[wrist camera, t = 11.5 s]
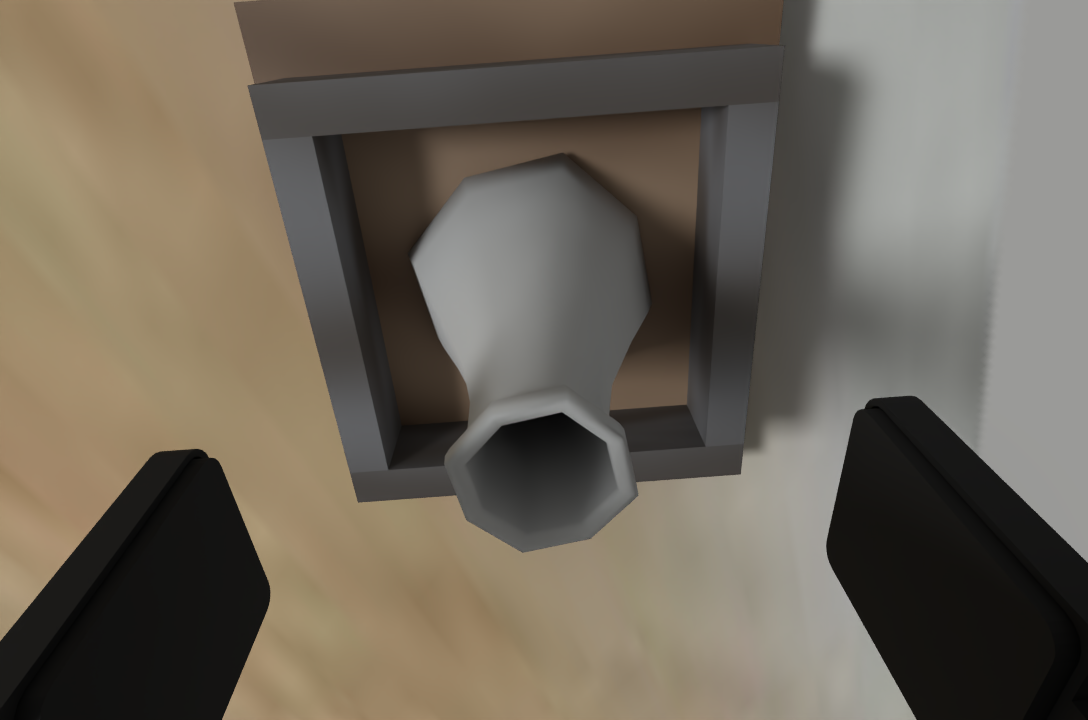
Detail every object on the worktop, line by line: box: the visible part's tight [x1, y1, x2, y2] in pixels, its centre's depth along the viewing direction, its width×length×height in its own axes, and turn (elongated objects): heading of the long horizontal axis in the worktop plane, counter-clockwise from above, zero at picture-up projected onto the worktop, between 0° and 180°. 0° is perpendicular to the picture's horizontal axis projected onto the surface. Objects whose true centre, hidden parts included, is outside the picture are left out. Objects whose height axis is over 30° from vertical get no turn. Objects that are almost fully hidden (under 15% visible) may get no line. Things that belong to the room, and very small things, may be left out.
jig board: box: [234, 0, 785, 502], centre depth 19 cm, size 16×14×4 cm
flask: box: [408, 152, 652, 553], centre depth 15 cm, size 7×7×10 cm
